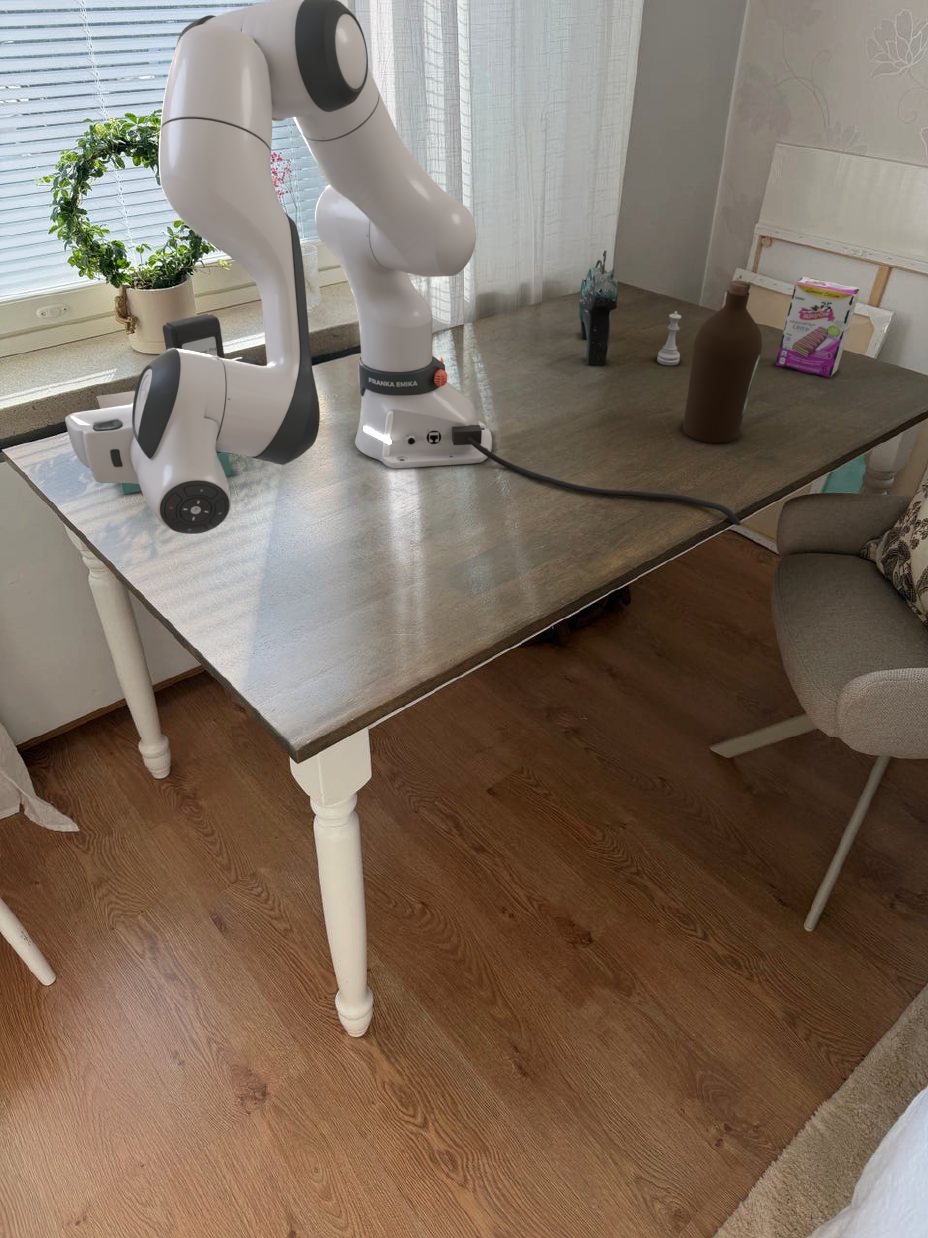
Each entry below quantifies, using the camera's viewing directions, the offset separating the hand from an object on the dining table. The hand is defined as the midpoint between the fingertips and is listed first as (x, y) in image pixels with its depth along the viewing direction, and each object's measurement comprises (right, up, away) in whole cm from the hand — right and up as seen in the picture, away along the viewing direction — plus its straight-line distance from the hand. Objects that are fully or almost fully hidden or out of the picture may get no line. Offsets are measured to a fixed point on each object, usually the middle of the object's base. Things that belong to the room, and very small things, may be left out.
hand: (147, 399), depth 115 cm
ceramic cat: (+65, +27, +72) cm, 101 cm away
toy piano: (-5, -5, +26) cm, 27 cm away
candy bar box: (+107, +22, +66) cm, 128 cm away
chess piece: (+80, +24, +68) cm, 108 cm away
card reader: (-6, +10, +46) cm, 48 cm away
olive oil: (+82, +4, +42) cm, 92 cm away
